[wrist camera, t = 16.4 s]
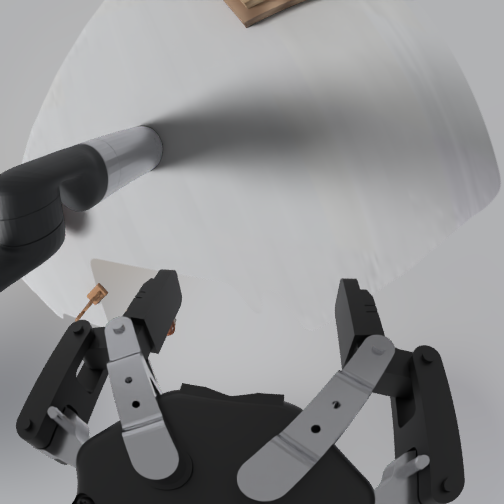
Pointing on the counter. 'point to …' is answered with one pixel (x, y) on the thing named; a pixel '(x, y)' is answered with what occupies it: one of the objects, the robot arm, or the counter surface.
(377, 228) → the counter surface
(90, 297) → the tan wooden handled piece
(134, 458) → the robot arm
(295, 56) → the counter surface
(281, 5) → the plinth
